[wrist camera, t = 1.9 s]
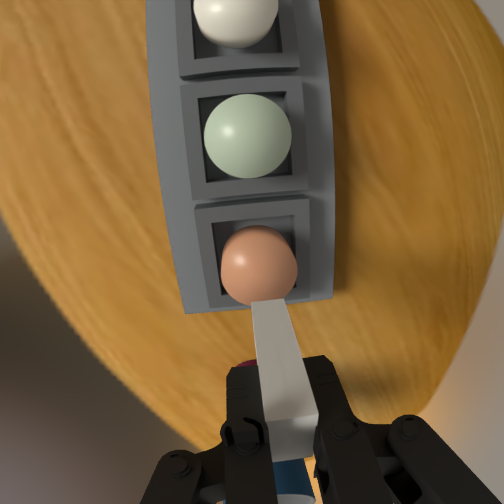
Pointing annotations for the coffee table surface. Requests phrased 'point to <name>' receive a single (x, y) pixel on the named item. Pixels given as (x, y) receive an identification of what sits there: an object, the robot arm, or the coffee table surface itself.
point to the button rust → (257, 265)
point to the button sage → (247, 136)
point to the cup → (290, 476)
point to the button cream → (235, 21)
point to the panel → (230, 187)
